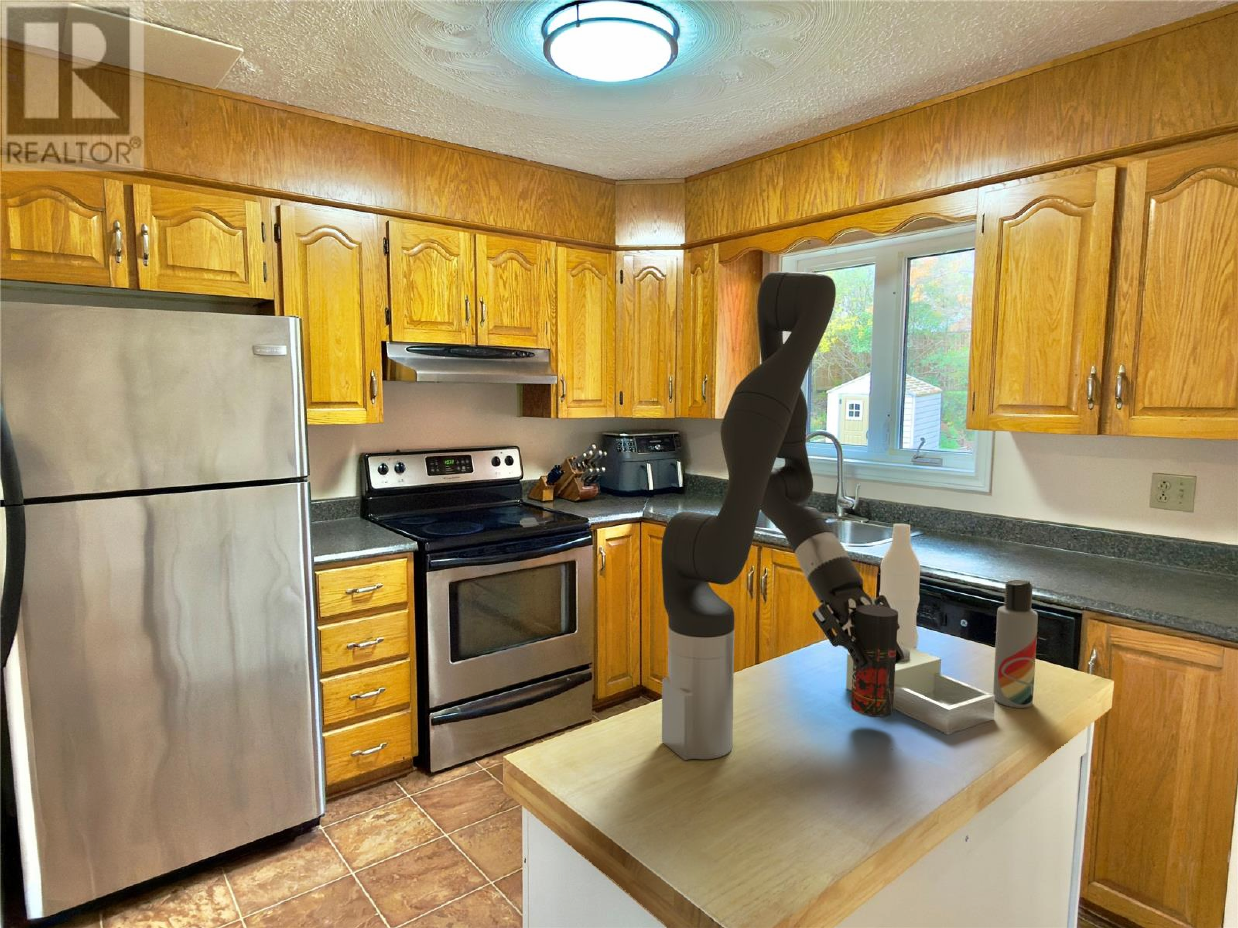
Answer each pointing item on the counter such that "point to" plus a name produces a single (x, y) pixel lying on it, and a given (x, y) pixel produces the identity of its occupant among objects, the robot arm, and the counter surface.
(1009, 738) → the counter surface
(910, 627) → the water bottle
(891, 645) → the deodorant
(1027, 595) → the lotion bottle
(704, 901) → the counter surface
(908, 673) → the cream rectangular block
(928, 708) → the white open box
